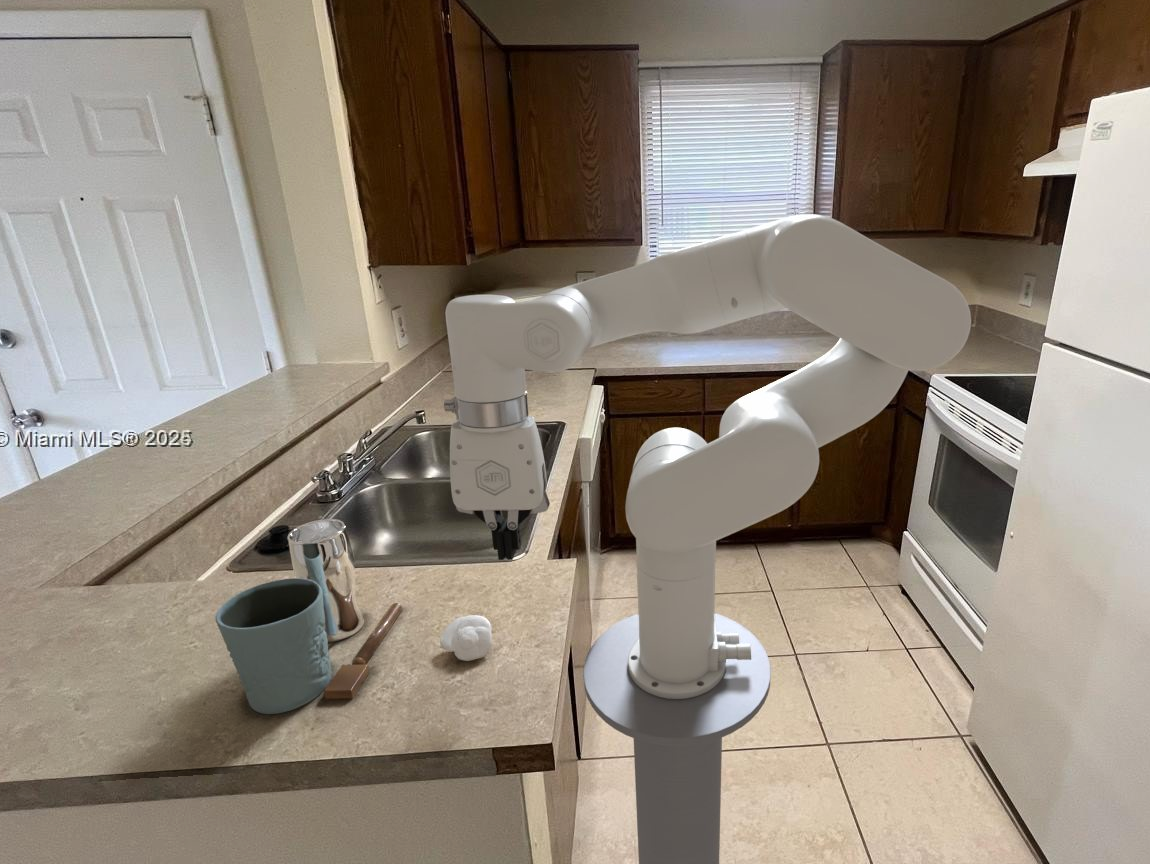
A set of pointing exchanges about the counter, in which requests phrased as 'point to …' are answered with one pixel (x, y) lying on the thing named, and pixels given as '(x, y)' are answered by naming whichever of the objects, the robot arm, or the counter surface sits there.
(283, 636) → the teal embossed cup
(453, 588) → the counter surface
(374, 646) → the wooden spatula
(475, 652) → the dumpling
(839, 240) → the robot arm
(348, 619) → the chrome tumbler
